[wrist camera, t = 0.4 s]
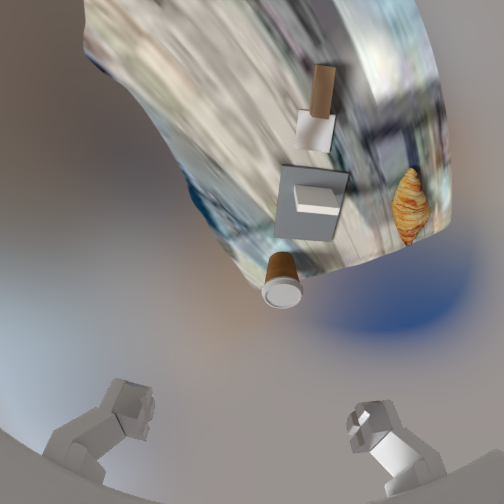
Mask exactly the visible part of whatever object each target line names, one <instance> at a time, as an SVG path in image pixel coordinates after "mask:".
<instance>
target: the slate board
mask: <svg viewBox="0 0 504 504" xmlns="http://www.w3.org/2000/svg"><path fill="white" fill-rule="evenodd" d="M347 179H348V173H347V172H340V171H333V170H326V169H318V168H309V167H300V166H291V165H282V169H281V178H280V187H279V195H278V203H277V212H276V220H275V228H274V238H287V239H300V240H313V241H325V242H331V240H332V237H333V233H334V230H335V226H336V222H337V219H338V215H339V213H338V215H328V214H318V213H308V212H297V208H296V202H295V197H294V185H301V186H310V187H319V188H328V189H332V191H333V194H334V196H335V198H336V201H337V203H338V205H339V208H340V207H341V203H342V199H343V195H344V191H345V187H346V183H347ZM339 211H340V210H339Z"/></svg>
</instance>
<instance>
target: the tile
mask: <svg viewBox="0 0 504 504" xmlns="http://www.w3.org/2000/svg"><path fill="white" fill-rule="evenodd" d="M294 197H295V202H296V208H297V212H308V213H318V214H328V215H338V213H339V210H340V208H339V205H338V203H337V201H336V198H335V196H334V194H333V191H332V189H328V188H319V187H310V186H301V185H294Z"/></svg>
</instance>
